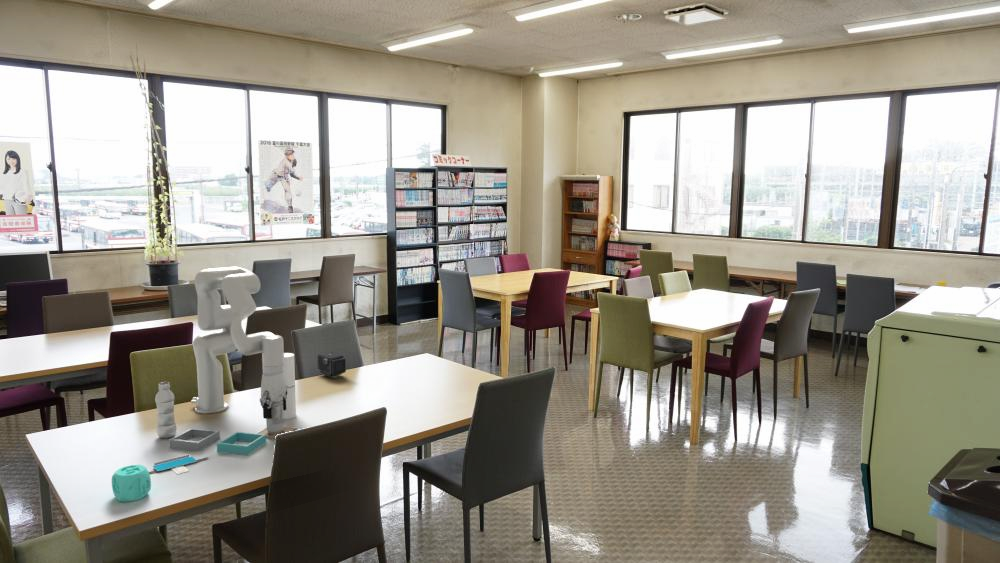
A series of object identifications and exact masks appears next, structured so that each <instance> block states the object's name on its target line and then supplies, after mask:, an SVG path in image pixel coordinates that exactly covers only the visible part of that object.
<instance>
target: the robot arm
mask: <svg viewBox="0 0 1000 563" xmlns="http://www.w3.org/2000/svg"><path fill="white" fill-rule="evenodd" d="M194 277H195V278H194V288H195V291H196V295H197V325H198V328H199V329H200V330H201V331H206V333H202V334H199V335H198V336H196V337H195V338H194V339H193V342H192V349H193V352H194V357H195V362H196V376H197V378H196V379H197V395H198V396H193V397H192V399H191V400H190V402H191V404H195V405H196V406H195V407H194V412H196V413H198V414H204V415H205V414H215V413H220V412H222V411H225V410H227V409H228V407H229V404H228V403H227V401H226V402H225V399H224V398H225V397H224V395H225V394H224V376H223V375H224V374H223V373H224V372H223V365H222V362H220V360H219V359H218V358H217V356H220V355H221V356H222V355H225V354H229V353H233V352H235V351H238V352H239V354H240V355H243V356H252V355H256V354H261V356H262V357H261V362H262V375H261V382H260V383H261V384H260V398H259V402H260V406H261V408H262V417H263V419H271V418H272V408H270V407H271V405H272V402H274V401H276V400H277V398H278V396H279V395H280V394H282V396H283V410H286V400H285V399H287V396H286V395H287V393H288V392H287V390H288V386H287V385H286V381H285V374H284V353H285V351H284V350H285V349H284V347H285V346H284V344H285V343H284V337H283V336H282V335H279V334H274V333H273V332H271V331H259V332H255V333H250V334H246V333H245V331H244V328H243V327H242V321H243V320H245V319H246V318H249V317H250V316H251V315H252V314H253V313H255V312H256V310H257V305H256V302H255V299H254V298H253V296H252V295H253V294H257V293H258V292H259V291H260V290H261V281H260V278H259V276H257V274H255V273H254V272H252V271H250V270H248V269H246V268H242V267H240V266H227V267H214V268H213V267H212V268H205V269H202V270H199V271H198V272H197V273H196V274H195V276H194ZM218 290H222V292H223V294H224V296H225V299H226V301H227V303H228V304H223V305H222V303H221V302H222V299H221V298H222V297H221V294H220V292H219V291H218ZM216 330H218V331H216ZM207 331H209V332H207ZM210 331H214V332H210ZM268 399H270V400H268ZM267 402H269V404H267Z"/></svg>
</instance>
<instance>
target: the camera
mask: <svg viewBox="0 0 1000 563" xmlns="http://www.w3.org/2000/svg"><path fill="white" fill-rule="evenodd" d="M346 360H347V359H346V358H345V357H344V355H342V354H339V353H336V352H333V351H330V352H326V353H320V354H317V369H318V370H319V371H320V373H321V374H322V375H325V376H326V377H330V378H331V379H336V378H338V376H341V375H342V374H344V373H346V371H347V370H346V368H347V366H346V365H347V364H346Z"/></svg>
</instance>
